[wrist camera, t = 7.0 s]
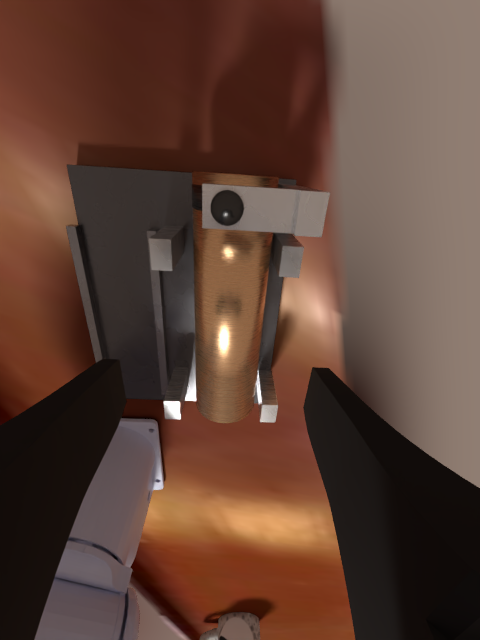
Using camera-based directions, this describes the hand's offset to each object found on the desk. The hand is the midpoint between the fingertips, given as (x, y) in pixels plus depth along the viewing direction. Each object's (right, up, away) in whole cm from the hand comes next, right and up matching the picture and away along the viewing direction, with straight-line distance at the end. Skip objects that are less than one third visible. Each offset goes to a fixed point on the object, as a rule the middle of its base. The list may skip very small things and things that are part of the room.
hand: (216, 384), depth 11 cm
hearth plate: (-3, +4, +9) cm, 10 cm away
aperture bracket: (+2, +9, +5) cm, 10 cm away
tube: (0, +4, +7) cm, 8 cm away
